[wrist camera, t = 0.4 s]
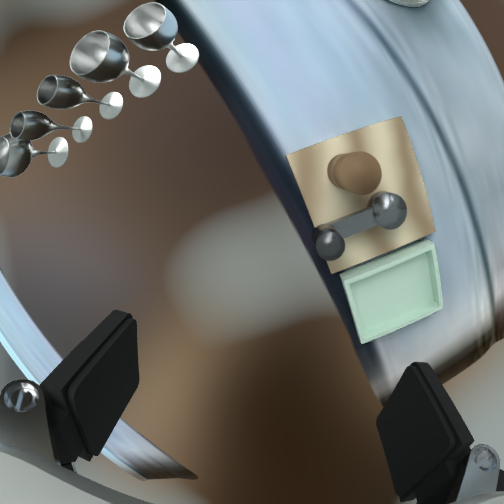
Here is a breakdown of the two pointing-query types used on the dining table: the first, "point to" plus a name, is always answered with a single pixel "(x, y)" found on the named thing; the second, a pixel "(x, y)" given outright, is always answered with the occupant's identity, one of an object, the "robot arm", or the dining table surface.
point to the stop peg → (355, 172)
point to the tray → (394, 290)
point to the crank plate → (344, 202)
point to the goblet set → (95, 70)
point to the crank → (359, 223)
